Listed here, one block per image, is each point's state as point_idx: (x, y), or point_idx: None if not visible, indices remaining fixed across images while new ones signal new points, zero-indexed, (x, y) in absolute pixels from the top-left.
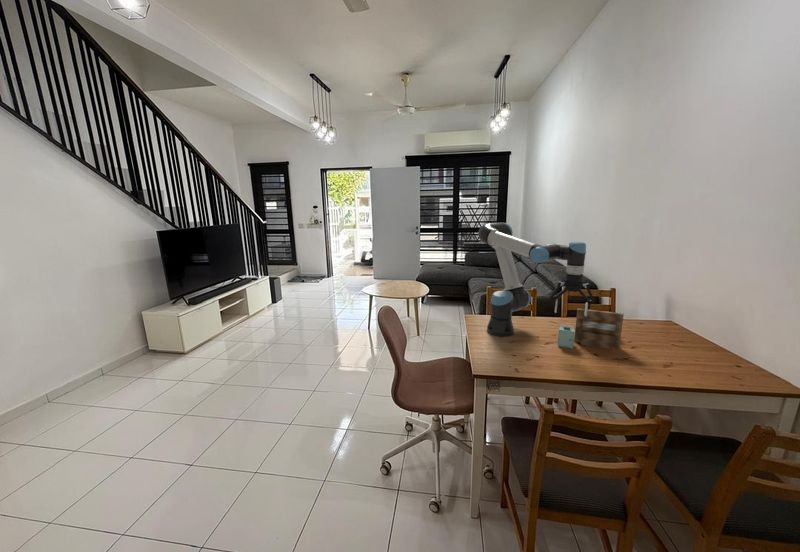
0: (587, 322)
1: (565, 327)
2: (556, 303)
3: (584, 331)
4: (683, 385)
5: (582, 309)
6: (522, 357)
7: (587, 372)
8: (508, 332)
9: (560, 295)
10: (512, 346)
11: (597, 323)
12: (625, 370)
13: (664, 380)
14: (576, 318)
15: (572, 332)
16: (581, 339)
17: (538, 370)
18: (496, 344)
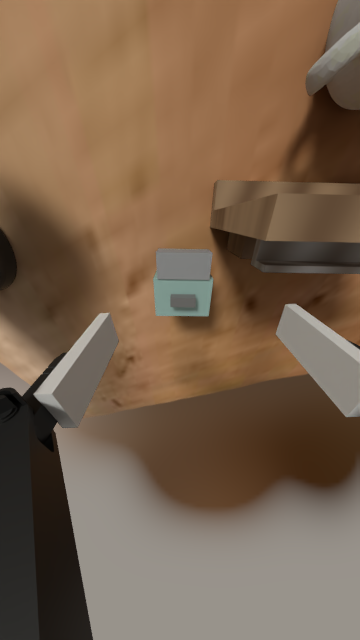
0: (282, 271)
1: (177, 306)
2: (84, 400)
3: (253, 247)
4: None
5: (314, 224)
6: (108, 370)
7: (216, 377)
8: (2, 282)
9: (61, 524)
10: (67, 336)
11: (330, 272)
12: (285, 351)
13: None
14: (237, 224)
15: (201, 314)
16: (232, 252)
17: (144, 394)
18: (31, 340)
